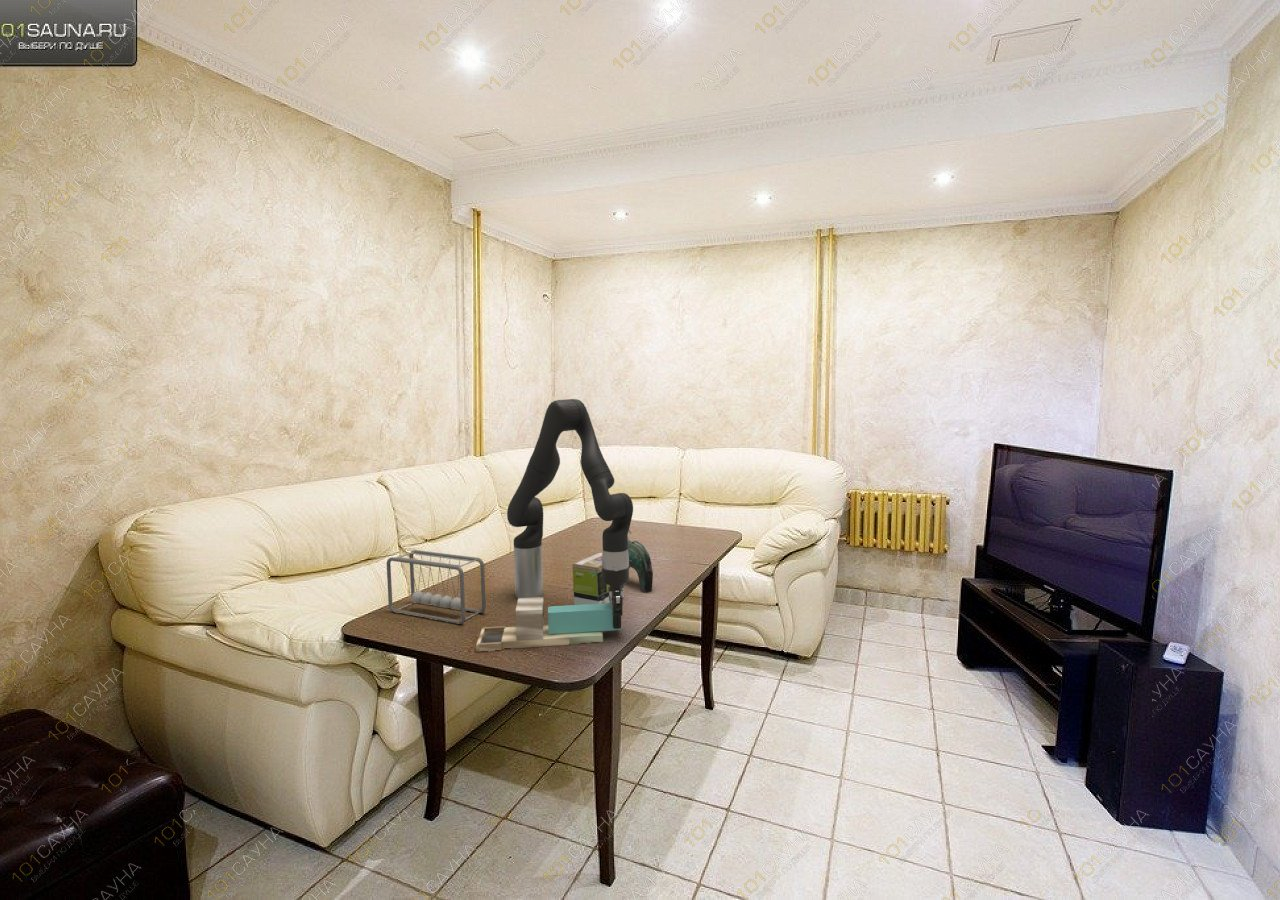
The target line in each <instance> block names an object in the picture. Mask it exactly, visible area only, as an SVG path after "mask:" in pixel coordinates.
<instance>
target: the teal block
mask: <svg viewBox="0 0 1280 900" xmlns="http://www.w3.org/2000/svg"><path fill="white" fill-rule="evenodd" d="M615 611H620V609H615ZM612 613H613V611H612V607H611V606H610V603H601V604H584V605H574V604H570V605H569V604H568V605H551V606H547V625H548V634H562V633H578V632H594V631H602V632H607V631H621V630H622V627H621V628H620V629H614V628H613V615H612Z"/></svg>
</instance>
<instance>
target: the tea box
mask: <svg viewBox="0 0 1280 900" xmlns="http://www.w3.org/2000/svg"><path fill="white" fill-rule="evenodd" d="M572 584H573V587H572V588H573V603H574V604H573V605H584V604H601V603H610V601H609V592H608V587H610V585H607V584H605V583H603V581H602V552H596V553H594V554H592V555H589V556H587V557H584V558H582V559H580V560H578V561H575V562H573V563H572ZM624 585H625V584H622V585H621V587H622V589H623V594H624V595H623V599H624V598H625V586H624Z"/></svg>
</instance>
